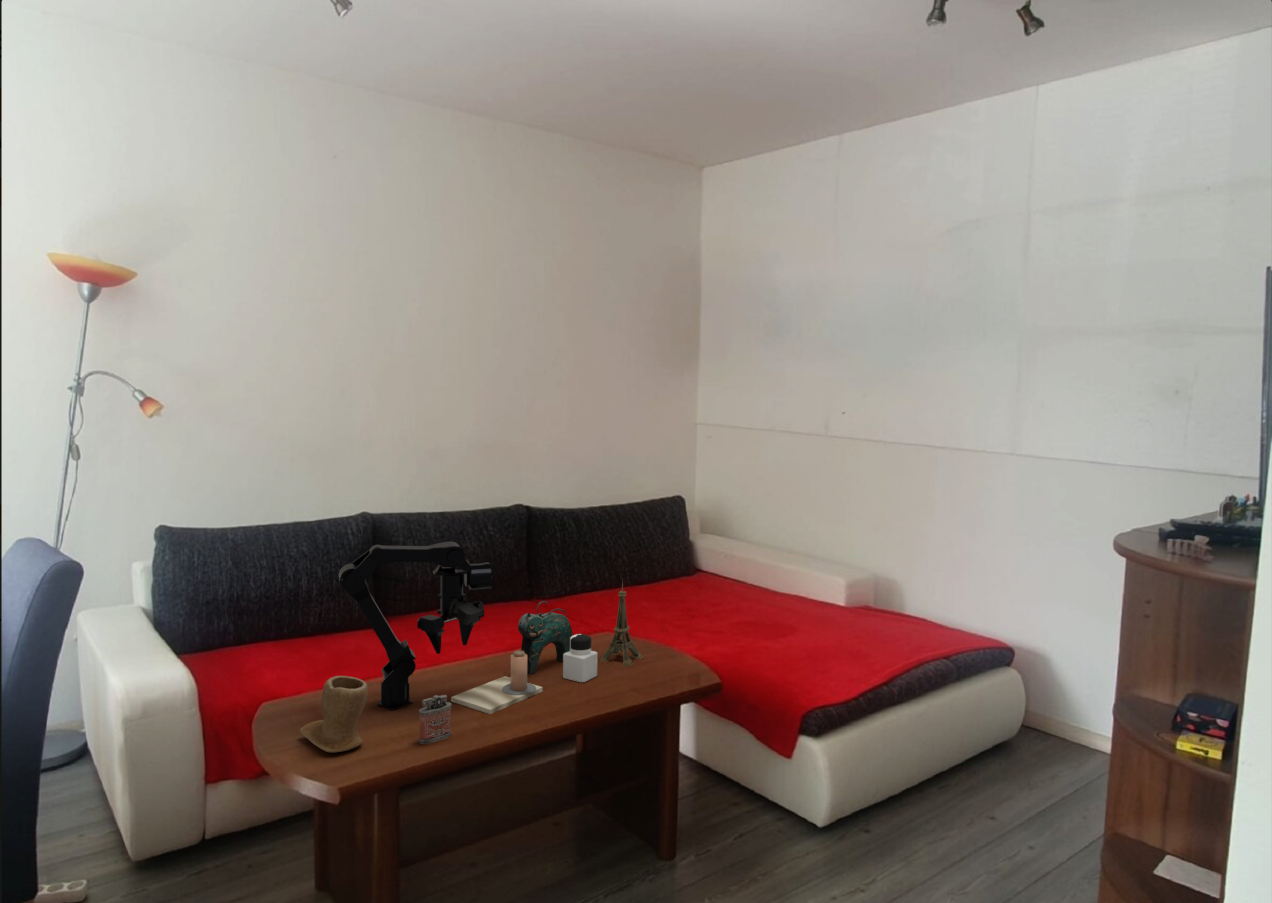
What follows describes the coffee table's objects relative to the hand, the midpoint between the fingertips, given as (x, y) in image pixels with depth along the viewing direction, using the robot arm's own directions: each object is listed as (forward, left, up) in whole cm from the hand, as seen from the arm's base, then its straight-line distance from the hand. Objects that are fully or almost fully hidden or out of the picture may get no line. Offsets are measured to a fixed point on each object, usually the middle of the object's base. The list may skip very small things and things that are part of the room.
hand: (451, 649), depth 222 cm
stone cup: (-35, 0, -13) cm, 37 cm away
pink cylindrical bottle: (+13, -12, -12) cm, 21 cm away
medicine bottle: (+33, -17, -13) cm, 39 cm away
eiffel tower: (+53, -17, -13) cm, 57 cm away
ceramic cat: (+34, -3, -13) cm, 37 cm away
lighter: (-20, -16, -13) cm, 29 cm away
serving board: (+8, -9, -13) cm, 18 cm away
